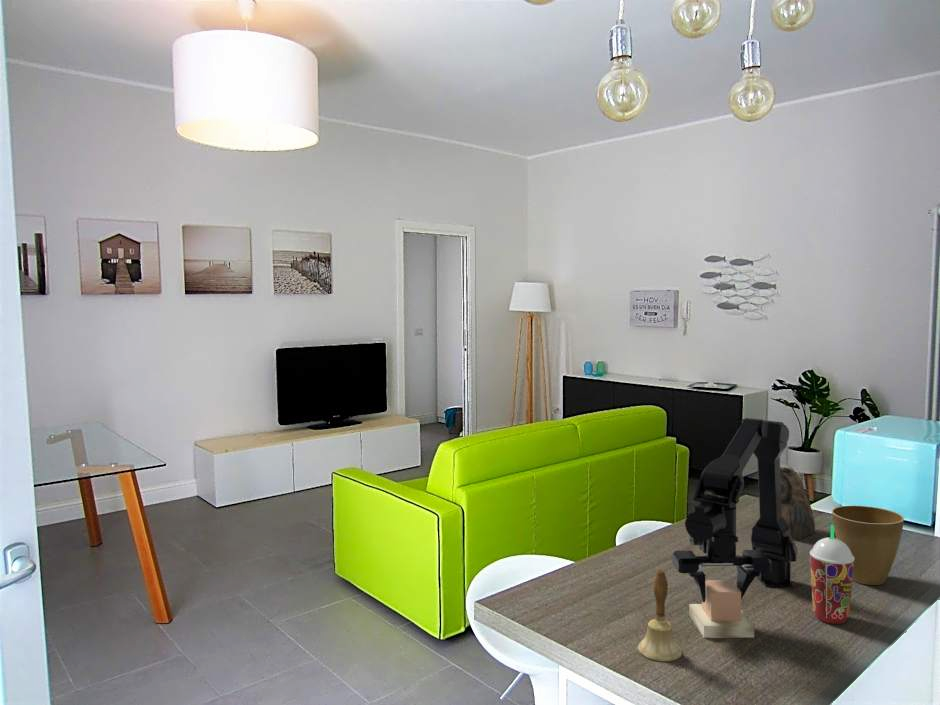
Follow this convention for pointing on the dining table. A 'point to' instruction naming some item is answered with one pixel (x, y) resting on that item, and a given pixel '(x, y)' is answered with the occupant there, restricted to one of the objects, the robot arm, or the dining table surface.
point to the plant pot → (869, 540)
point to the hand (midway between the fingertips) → (720, 601)
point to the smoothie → (831, 579)
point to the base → (720, 625)
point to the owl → (795, 504)
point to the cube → (722, 601)
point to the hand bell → (660, 628)
